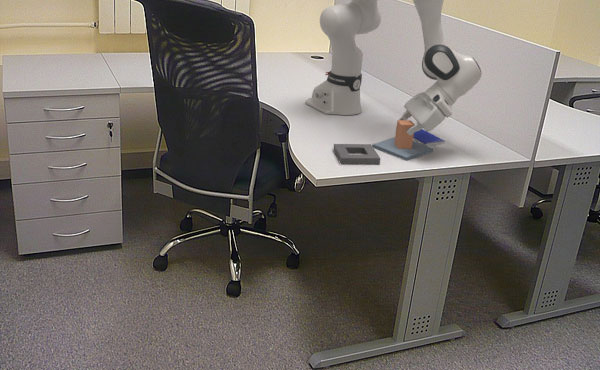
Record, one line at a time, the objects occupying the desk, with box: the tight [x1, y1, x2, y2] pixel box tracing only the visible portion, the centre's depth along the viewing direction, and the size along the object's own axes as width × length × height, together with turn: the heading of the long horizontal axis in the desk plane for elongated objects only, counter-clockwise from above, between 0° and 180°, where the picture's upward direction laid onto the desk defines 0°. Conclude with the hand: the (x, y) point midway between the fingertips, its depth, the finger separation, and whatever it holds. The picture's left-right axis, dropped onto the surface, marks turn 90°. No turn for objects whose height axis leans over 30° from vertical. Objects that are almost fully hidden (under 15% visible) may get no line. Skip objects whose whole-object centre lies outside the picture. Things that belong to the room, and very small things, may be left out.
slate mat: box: [371, 137, 434, 161], centre depth 210 cm, size 14×14×1 cm
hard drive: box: [413, 128, 446, 147], centre depth 221 cm, size 2×8×12 cm
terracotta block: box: [394, 119, 416, 149], centre depth 208 cm, size 4×4×8 cm
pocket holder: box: [332, 143, 381, 165], centre depth 201 cm, size 12×12×2 cm
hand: (403, 128), depth 207 cm, fingers open, 8 cm apart
